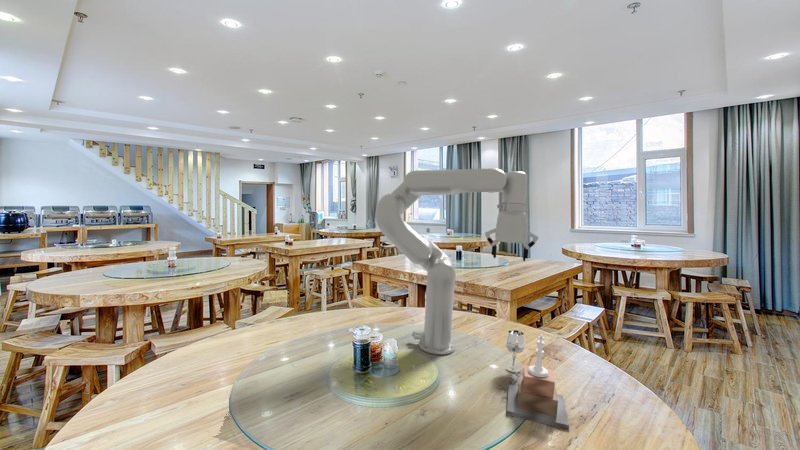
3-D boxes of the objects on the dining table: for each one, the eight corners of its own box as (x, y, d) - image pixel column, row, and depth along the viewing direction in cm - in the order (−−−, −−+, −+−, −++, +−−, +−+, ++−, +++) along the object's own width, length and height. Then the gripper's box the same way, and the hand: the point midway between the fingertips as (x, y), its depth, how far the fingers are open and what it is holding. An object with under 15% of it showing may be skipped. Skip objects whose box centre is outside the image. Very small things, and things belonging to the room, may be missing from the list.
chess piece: (550, 378, 89) (553, 339, 88) (529, 375, 90) (532, 337, 89) (546, 369, 94) (549, 332, 93) (526, 366, 95) (529, 330, 94)
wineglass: (523, 368, 114) (526, 331, 113) (521, 376, 108) (524, 337, 107) (505, 364, 116) (507, 328, 115) (502, 371, 111) (505, 333, 110)
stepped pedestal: (506, 414, 88) (509, 379, 87) (508, 387, 101) (511, 356, 100) (568, 429, 83) (572, 392, 83) (562, 398, 97) (565, 366, 96)
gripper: (485, 207, 119) (482, 257, 121) (541, 210, 114) (536, 263, 115) (487, 207, 126) (484, 254, 128) (540, 210, 121) (535, 260, 122)
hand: (509, 258), depth 121 cm, fingers open, 9 cm apart
